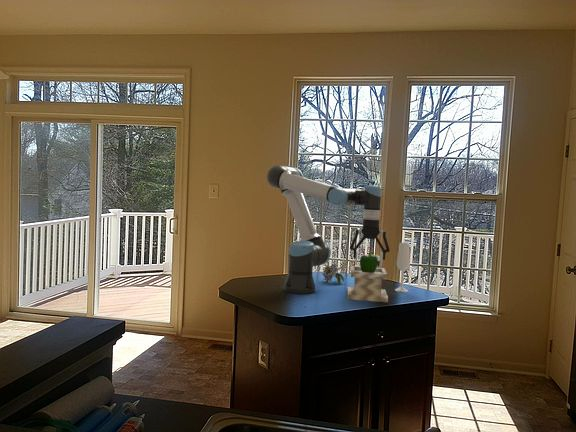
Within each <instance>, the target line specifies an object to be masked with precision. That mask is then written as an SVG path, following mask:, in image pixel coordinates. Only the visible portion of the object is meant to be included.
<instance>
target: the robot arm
mask: <svg viewBox="0 0 576 432" xmlns="http://www.w3.org/2000/svg"><path fill="white" fill-rule="evenodd" d="M266 181H267V183H268V185H270V187H271V188H274V189H278V190H279V189H280V192H281V194H282V196H284V197H285V198H286V200H287V202H288V205H289V208H290V211H291V215H292V217H293V219H294V223H295V225H296V228H297V230H298V233H299V236H300V239H301V240H298V241H294V242H292V243H290V245H289V250H288V271H287V272H288V274H287V276H286V279H285V282H284V285H283V291H285V292H287V293H291V294H298V295H300V294H301V295H309V294H313V293H315V292H316V284H315V280H314V276H313V272H314V271H313V269H314V267H316V266H317V267H318V266H321V265H322V266H323V265H324V264H327V262H328V261H329V260H330V258H331V255H332V251H331V250H332V249H331V247H330V245H329V244H328V243H327V242H326V241H324V240H323V237H322V235H321V234H318V231H317V229H316V226H315V224H314V222H313V221H314V220H313V219H312V216H311V212H310V210H309V207H308V205H307V202H306V199H305V197H304V195H306V196H309V197H313V198H316V199H318V200H319V199H320V200H323V201H326V202H329V203H330V204H331V205H333V206H363V218H364V219H362V228H361V229H358V228H356V229H355V235H354V237H353V239H352V241H351V244H350V246H349V249H350V250H351V251H353V254H352V255H353V258H354V259H355V265H354V266H358V256H359V255H358V253H359V251H358V249H359V247H360V246H361V245H362V243H363V242H364V241H365V240H369V239H370V240H375V241H376V243H377V244H378V246H379V247H380V250H381V251H382V252H380V258H381V261H380V265H379V268H383V262H384V261H385V260H386V253H389V252H390V246H389V243H388V240H387V237H386V234H387V232H386V230H380V220H379V219H380V216H381V199H382V188H381V186H380V185H365V187H364V189H358V188H342V187H339V186H338V187H337V186H334V185H332V184H328V183H325V182H321V181H317V180H314V179H310V178H307V177H304V174H303V173H302V171H301V170H300V169H299V168H298V167H295V166H291V165H289V166H287V165H279V164H277V165H274V166H272V167H270V168H269V169H268V171H267V173H266ZM361 233H362V235H363V236H362V237H361V238H360V240H359V241H358V242H357V244H356V241H357V239H358V237H359V235H360V234H361ZM379 235H381V237H382V239H383V242H384V246H385V248H384V246H383V244H382V243H381V241H380V239H379V237H378V236H379ZM355 244H356V245H355ZM354 246H355V247H354Z"/></svg>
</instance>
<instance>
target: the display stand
mask: <svg viewBox="0 0 576 432" xmlns="http://www.w3.org/2000/svg"><path fill="white" fill-rule="evenodd" d="M350 278H354V282H353V283H354V284H353V285H354V286H347V297H346V298H347V300H351V301H353V300H354V301H364V302H376V303H378V302H380V303H388V302H389V296H388V294H387V291H386V289H383V288H382V284H383V283H382V282H383V280H386V281H387V280H388V273H387V270H386V268H384V267H379V268H376V270H375V272H374V273H370V272H362V271H361V267H360V265H351V266H350Z"/></svg>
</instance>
